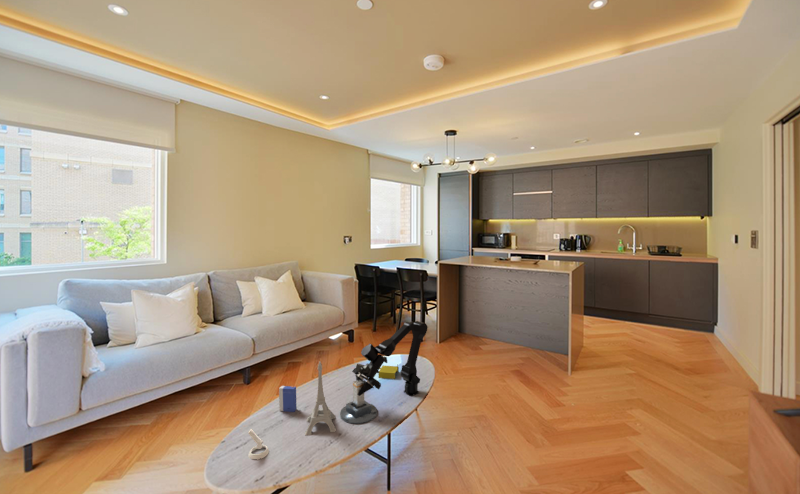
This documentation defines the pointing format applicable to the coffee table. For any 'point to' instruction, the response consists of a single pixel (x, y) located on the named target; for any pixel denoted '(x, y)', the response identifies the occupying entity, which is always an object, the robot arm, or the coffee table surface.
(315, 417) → the eiffel tower
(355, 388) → the square box
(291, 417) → the coffee table surface
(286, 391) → the walkman
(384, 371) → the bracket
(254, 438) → the hook
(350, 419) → the square socket base
